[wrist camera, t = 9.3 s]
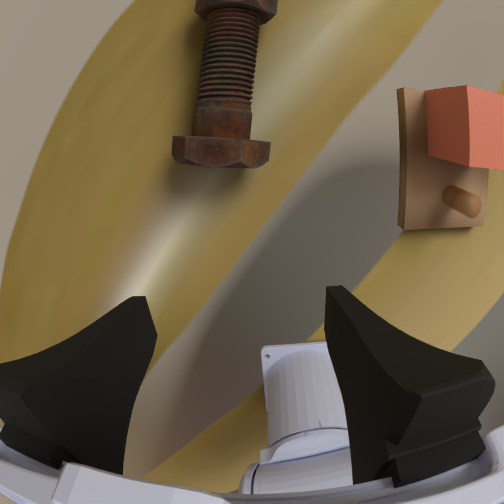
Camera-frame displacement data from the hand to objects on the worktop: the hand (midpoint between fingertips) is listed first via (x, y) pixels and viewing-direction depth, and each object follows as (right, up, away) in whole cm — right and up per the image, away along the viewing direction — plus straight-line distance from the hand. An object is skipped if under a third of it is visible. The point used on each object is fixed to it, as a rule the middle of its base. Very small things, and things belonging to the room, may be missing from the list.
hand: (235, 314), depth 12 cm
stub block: (+15, +9, +7) cm, 19 cm away
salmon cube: (+15, +11, +5) cm, 19 cm away
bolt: (0, +16, +5) cm, 16 cm away
